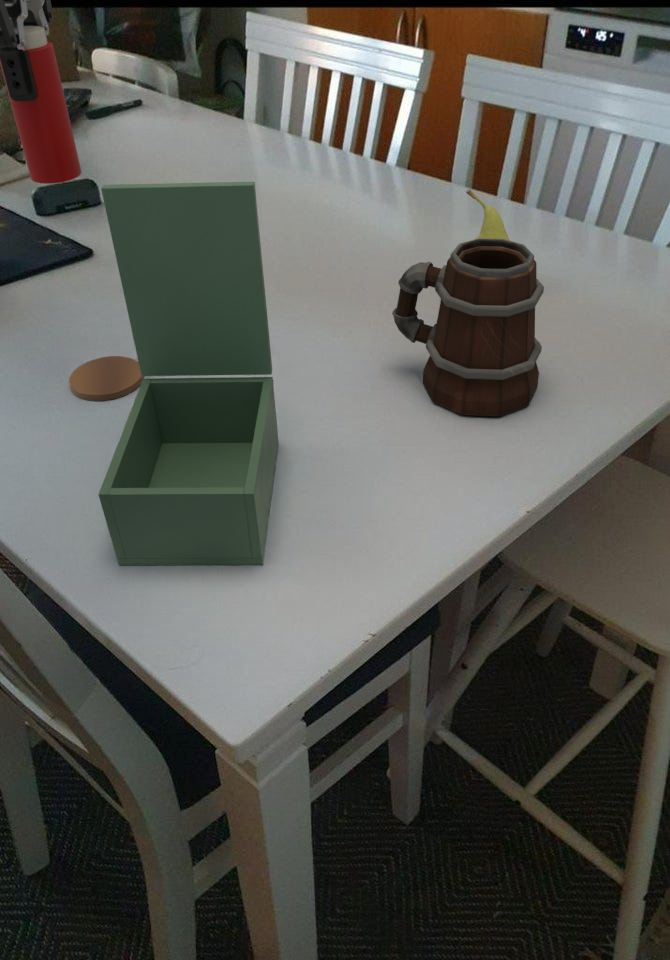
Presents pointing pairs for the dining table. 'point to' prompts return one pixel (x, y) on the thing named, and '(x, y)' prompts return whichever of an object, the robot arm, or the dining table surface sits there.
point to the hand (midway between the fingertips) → (34, 90)
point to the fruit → (490, 221)
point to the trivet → (106, 378)
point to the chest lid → (192, 276)
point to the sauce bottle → (45, 117)
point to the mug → (477, 326)
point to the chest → (194, 473)
